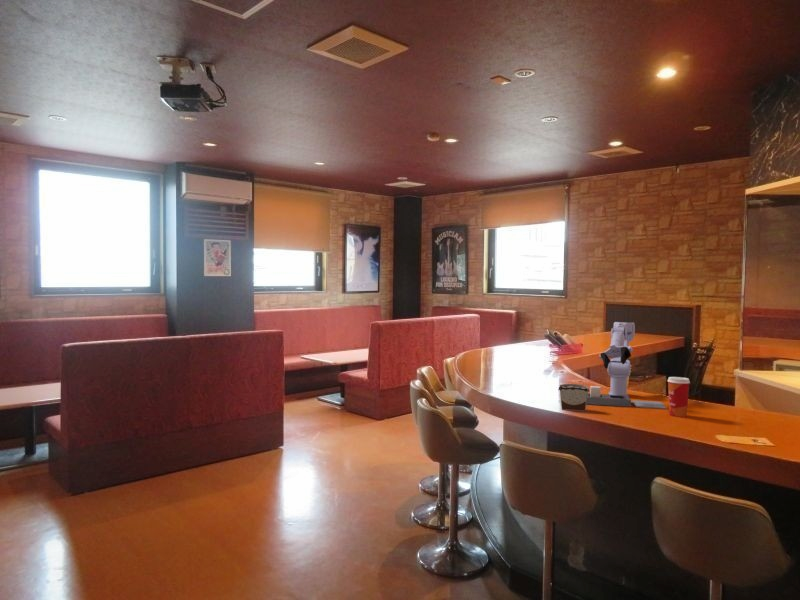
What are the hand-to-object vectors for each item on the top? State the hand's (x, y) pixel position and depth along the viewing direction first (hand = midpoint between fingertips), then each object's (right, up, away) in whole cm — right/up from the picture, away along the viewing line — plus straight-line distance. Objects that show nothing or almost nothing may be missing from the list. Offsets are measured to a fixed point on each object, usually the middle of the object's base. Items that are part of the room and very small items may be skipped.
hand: (613, 364), depth 236 cm
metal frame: (-3, -17, +3) cm, 18 cm away
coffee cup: (+18, -18, -20) cm, 32 cm away
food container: (-21, -18, -9) cm, 29 cm away
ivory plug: (-7, -17, +4) cm, 19 cm away
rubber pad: (+15, -18, -1) cm, 23 cm away
